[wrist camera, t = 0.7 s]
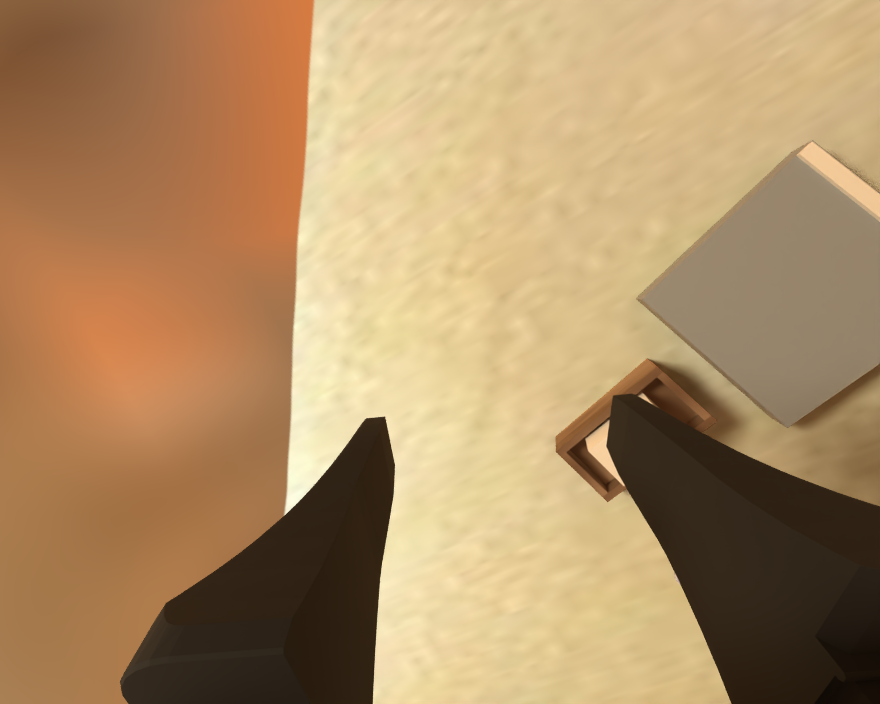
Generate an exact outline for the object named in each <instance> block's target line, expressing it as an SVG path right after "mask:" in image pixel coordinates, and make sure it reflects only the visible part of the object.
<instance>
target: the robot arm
mask: <svg viewBox="0 0 880 704" xmlns="http://www.w3.org/2000/svg"><path fill="white" fill-rule="evenodd" d="M606 447H607V449H608V451H609V454H610V456H611V459H612V461H613V463H614V466H615V468H616V470H617V472H618V474H619V476H620V478H621V480H622V481H623V483H624V485H625V486H626V488H627V490H628V491H629V493H630V495H631V496H632V498H633V500H634V501H635V503H636V505H637V506H638V508H639V510H640V511H641V513H642V515H643V516H644V518H645V519H646V521H647V523H648V524H649V526H650V528H651V529H652V531H653V533H654V534H655V536H656V538H657V539H658V541H659V543H660V544H661V546H662V548H663V550H664V552H665V553H666V555H667V557H668V559H669V561H670V564H671V566H672V568H673V570H674V572H675V574H674V576H675V579H676V581H677V582H678V583H679V584H680V585H681V586H682V588H683V591H684V593H685V595H686V597H687V599H688V602H689V604H690V606H691V608H692V610H693V613H694V615H695V617H696V619H697V621H698V624H699V626H700V628H701V630H702V633H703V635H704V638H705V640H706V642H707V645H708V647H709V649H710V652H711V654H712V656H713V659H714V661H715V664H716V666H717V668H718V671H719V673H720V676H721V678H722V681H723V683H724V686H725V688H726V691H727V693H728V696H729V698H730V701H731V704H880V506H876V505H873V504H870V503H867V502H864V501H861V500H858V499H855V498H852V497H849V496H846V495H843V494H840V493H837V492H834V491H832V490H829V489H826V488H824V487H821V486H818V485H816V484H813V483H810V482H808V481H805V480H802V479H800V478H797V477H795V476H792V475H790V474H787V473H785V472H782V471H780V470H778V469H775V468H773V467H771V466H769V465H766V464H764V463H762V462H760V461H757V460H755V459H753V458H751V457H748V456H746V455H744V454H742V453H740V452H738V451H736V450H734V449H732V448H730V447H728V446H726V445H724V444H722V443H720V442H718V441H716V440H714V439H712V438H711V437H709V436H707V435H705V434H703V433H701V432H700V431H698V430H696V429H694V428H692V427H691V426H689V425H687V424H685V423H684V422H682V421H680V420H678V419H677V418H675V417H673V416H672V415H670V414H668V413H666V412H665V411H663V410H661V409H660V408H658V407H656V406H654V405H653V404H651V403H649V402H648V401H646V400H644V399H642V398H640V397H638V396H637V395H635V394H633V393H632V394H622V395H613V398H612V405H611V413H610V421H609V429H608V436H607V444H606ZM394 475H395V463H394V458H393V453H392V449H391V444H390V439H389V434H388V429H387V424H386V419H385V417H376V418H366V419H365V420H364V422H363V423H362V424H361V426H360V427H359V428H358V430H357V431H356V433H355V434H354V436H353V437H352V438H351V440H350V441H349V443H348V444H347V445H346V447H345V448H344V449H343V451H342V452H341V453H340V455H339V456H338V457H337V458H336V460H335V461H334V462H333V464H332V465H331V466H330V467H329V469H328V470H327V471H326V472H325V473H324V475H323V476H322V477H321V478H320V479H319V480H318V482H317V483H316V484H315V485H314V486H313V487H312V488H311V490H310V491H309V492H308V493H307V494H306V495H305V496H304V497H303V498H302V499H301V500H300V501H299V502H298V503H297V504H296V505H295V506H294V507H293V508H292V509H291V510H290V511H289V512H288V513H287V514H286V515H285V516H284V517H282V518H281V519H280V520H279V521H278V522H277V523H276V524H274V525H273V526H272V527H271V528H270V529H269V530H267V531H266V532H265V533H264V534H263V535H262V536H261V537H259V538H258V539H257V540H256V541H255V542H253V543H252V544H251V545H249V546H248V547H247V548H246V549H244V550H243V551H242V552H241V553H239V554H238V555H236V556H235V557H234V558H233V559H231V560H230V561H228V562H227V563H225V564H224V565H223V566H221V567H220V568H219V569H217V570H216V571H214V572H213V573H211V574H210V575H208V576H207V577H205V578H204V579H202V580H201V581H199V582H198V583H196V584H195V585H193V586H192V587H190V588H189V589H187V590H186V591H184V592H183V593H181V594H180V595H178V596H177V597H175V598H173V599H172V600H170V601H169V602H167V603H166V604H165V606H164V607H163V609H162V610H161V612H160V614H159V615H158V617H157V618H156V620H155V621H154V623H153V625H152V626H151V628H150V630H149V631H148V634H147V635H146V637H145V638H144V640H143V642H142V643H141V645H140V647H139V649H138V650H137V652H136V654H135V655H134V657H133V659H132V660H131V662H130V664H129V666H128V667H127V669H126V671H125V672H124V674H123V677H122V678H121V681H120V684H121V691H122V694H123V697H124V698H125V699H126V701H127V702H128V704H373V684H374V663H375V645H376V629H377V613H378V599H379V586H380V575H381V567H382V560H383V555H384V549H385V543H386V537H387V531H388V525H389V519H390V513H391V507H392V501H393V495H394Z"/></svg>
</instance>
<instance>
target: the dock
mask: <svg viewBox="0 0 880 704" xmlns="http://www.w3.org/2000/svg"><path fill="white" fill-rule="evenodd" d="M636 299H637V300H638V301H639V302H640V303H642V304H643V305H644V306H645V307H646V308H647V309H648V310H649V311H651V312H652V313H653V314H654V315H655V316H656V317H657V318H659V319H660V320H661V321H662V322H663V323H664V324H665V325H666V326H668V327H669V328H670V329H671V330H672V331H673V332H674V333H676V334H677V335H678V336H679V337H680V338H681V339H682V340H684V341H685V342H686V343H687V344H688V345H689V346H690V347H691V348H693V349H694V350H695V351H696V352H697V353H698V354H699V355H701V356H702V357H703V358H704V359H705V360H706V361H707V362H708V363H710V364H711V365H712V366H713V367H714V368H715V369H716V370H718V371H719V372H720V373H721V374H722V375H723V376H724V377H725V378H727V379H728V380H729V381H730V382H731V383H732V384H733V385H735V386H736V387H737V388H738V389H739V390H740V391H741V392H743V393H744V394H745V395H746V396H747V397H748V398H749V399H750V400H752V401H753V402H754V403H755V404H756V405H757V406H758V407H760V408H761V409H762V410H763V411H764V412H765V413H766V414H767V415H769V416H770V417H771V418H772V419H774V420H776V421H777V422H779V423H781V424H782V425H784V426H786V427H787V428H788V427H790V426H791V425H793V424H794V423H795V422H797V421H798V420H800V419H801V418H803V417H804V416H805V415H807V414H808V413H810V412H811V411H813V410H814V409H816V408H817V407H818V406H820V405H821V404H823V403H824V402H826V401H827V400H828V399H830V398H831V397H833V396H834V395H836V394H837V393H839V392H840V391H841V390H843V389H844V388H846V387H847V386H849V385H850V384H851V383H853V382H854V381H856V380H857V379H859V378H860V377H861V376H863V375H864V374H866V373H867V372H869V371H870V370H872V369H873V368H874V367H876V366H877V365H879V364H880V193H879V192H878V191H877V190H875V189H874V188H873V187H872V186H870V185H869V184H868V183H867V182H865V181H864V180H863V179H861V178H860V177H859V176H858V175H856V174H855V173H854V172H852V171H851V170H850V169H849V168H847V167H846V166H845V165H843V164H842V163H841V162H840V161H838V160H837V159H836V158H835V157H833V156H832V155H831V154H829V153H828V152H827V151H826V150H824V149H823V148H822V147H820V146H819V145H818V144H817V143H815V142H814V141H813V140H812V141H810V142H809V143H807V144H805V145H803V146H802V147H800V148H798V149H796V150H794V151H793V152H791V153H790V154H789V155H788V156H787V157H786V158H785V159H784V160H783V161H782V162H781V163H780V164H779V165H777V166H776V167H775V168H774V169H773V170H772V171H771V172H770V173H769V174H768V175H767V176H766V177H765V178H764V179H763V180H761V181H760V182H759V183H758V184H757V185H756V186H755V187H754V188H753V189H752V190H751V191H750V192H749V193H748V194H747V195H746V196H744V197H743V198H742V199H741V200H740V201H739V202H738V203H737V204H736V205H735V206H734V207H733V208H732V209H731V210H730V211H728V212H727V213H726V214H725V215H724V216H723V217H722V218H721V219H720V220H719V221H718V222H717V223H716V224H715V225H714V226H713V227H711V228H710V229H709V230H708V231H707V232H706V233H705V234H704V235H703V236H702V237H701V238H700V239H699V240H698V241H697V242H695V243H694V244H693V245H692V246H691V247H690V248H689V249H688V250H687V251H686V252H685V253H684V254H683V255H682V256H681V257H680V258H678V259H677V260H676V261H675V262H674V263H673V264H672V265H671V266H670V267H669V268H668V269H667V270H666V271H665V272H664V273H662V274H661V275H660V276H659V277H658V278H657V279H656V280H655V281H654V282H653V283H652V284H651V285H650V286H649V287H648V288H647V289H645V290H644V291H643V292H642V293H641V294H640V295H639V296H638V297H637V298H636Z"/></svg>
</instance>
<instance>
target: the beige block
mask: <svg viewBox="0 0 880 704" xmlns="http://www.w3.org/2000/svg"><path fill="white" fill-rule="evenodd" d="M636 395H637V396H638V397H640V398H642V399H644V400H646V401H648V402H649V403H651V404H653V405H654V406H656V407H658V406H657V405H656V404H654V403H653V402H652V401H651V400H650V399H649V398H648V397H647V396H646V395H645V394H644V393H643V392H642V391H640V392H639V393H637V394H636ZM658 408H659V407H658ZM609 421H610V417H608V418H607V419H606V420H605V421H604V422H602V423H601V424H600V425H599V426H597V427H596V428H595V429H594V430H593V431H591V432H590V433H589V434H588V435H587V436H585V439H586V444H587V449H588V451H589V452H590V453H591V454H592V455H593V456H594V457H595V458H596V459H597V460H598V461H599V462H600V463H601V464H602V465H603V466H604V467H605V468H606V469H607V470H608V471H609V472H610V473H611V474H612V475H613V476H614V477H615V478H616V479H617V480H618V481H619V482H620V483H621V484H622V485H623V486H625V485H624V483H623V481H622V480H621V478H620V476H619V474H618V472H617V470H616V468H615V466H614V463H613V461H612V459H611V456H610V454H609V451H608V449H607V447H606V444H607V436H608V429H609Z"/></svg>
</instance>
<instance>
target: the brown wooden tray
mask: <svg viewBox="0 0 880 704" xmlns="http://www.w3.org/2000/svg"><path fill="white" fill-rule="evenodd" d="M640 391H642V392H643V393H644V394H645V395H646V396H647V397H648V398H649V399H650V400H651V401H652V402H653V403H654V404H656V405H657V406H658V407H659V408H660V409H661V410H663V411H665V412H666V413H668V414H670V415H672V416H673V417H675V418H677V419H678V420H680V421H682V422H684V423H685V424H687V425H689V426H691V427H692V428H694V429H696V430H698V431H700V432H701V433H702V432H703V431H705V430H706V429H707V428H709V427H710V426H711V425H713V424H714V423H715V422H717V420H716V419H714V418H713V417H712V416H711V415H710V414H709V413H708V412H707V411H706V410H705V409H703V408H702V407H701V406H700V405H699V404H698V403H697V402H696V401H695V400H694V399H693V398H691V397H690V396H689V395H688V394H687V393H686V392H685V391H684V390H683V389H682V388H680V387H679V386H678V385H677V384H676V383H675V382H674V381H673V380H672V379H671V378H669V377H668V376H667V375H666V374H665V373H664V372H663V371H662V370H661V369H660V368H658V367H657V366H656V365H655V364H654V363H652V362H651V361H650V360H648V359H646V360H645V361H644V362H642V363H641V364H640V365H639V366H638V367H637V368H635V369H634V370H633V371H632V372H631V373H630V374H628V375H627V376H626V377H625V378H624V379H623V380H621V381H620V382H619V383H618V384H617V385H616V386H614V387H613V388H612V389H611V390H610V391H609V392H607V393H606V394H605V395H604V396H603V397H602V398H600V399H599V400H598V401H597V402H596V403H595V404H593V405H592V406H591V407H590V408H589V409H588V410H586V411H585V412H584V413H583V414H582V415H581V416H579V417H578V418H577V419H576V420H575V421H574V422H572V423H571V424H570V425H569V426H568V427H566V428H565V429H564V430H563V431H562V432H561V433H559V434H558V435H557V436H556V452H557V453H558V454H559V455H560V456H561V457H562V458H563V459H564V460H565V461H566V462H567V463H568V464H569V465H570V466H571V467H572V468H573V469H574V470H575V471H576V472H577V473H578V474H579V475H580V476H581V477H582V478H583V479H585V480H586V481H587V482H588V483H589V484H590V485H591V486H592V487H593V488H594V489H595V490H596V491H597V492H598V493H599V494H600V495H601V496H602V497H603V498H604V499H605V500H606V501H607V502H609V501H610V500H611V499H613V498H614V497H615V496H617V495H618V494H619V493H621V492H622V491H623V490H625V489H626V486H623V485H622V484H621V483H620V482H619V481H618V480H617V479H616V478H615V477H614V476H613V475H612V474H611V473H610V472H609V471H608V470H607V469H606V468H605V467H604V466H603V465H602V464H601V463H600V462H599V461H598V460H597V459H596V458H595V457H594V456H593V455H592V454H591V453H590V452H589V451H588V449H587V444H586V439H585V436H587V435H588V434H589V433H590V432H591V431H593V430H594V429H595V428H596V427H597V426H599V425H600V424H601V423H602V422H604V421H605V420H606V419H607V418H608V417H610V413H611V405H612V398H613V395H622V394H632V393H633V394H635V395H636V394H637V393H639V392H640Z"/></svg>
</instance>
